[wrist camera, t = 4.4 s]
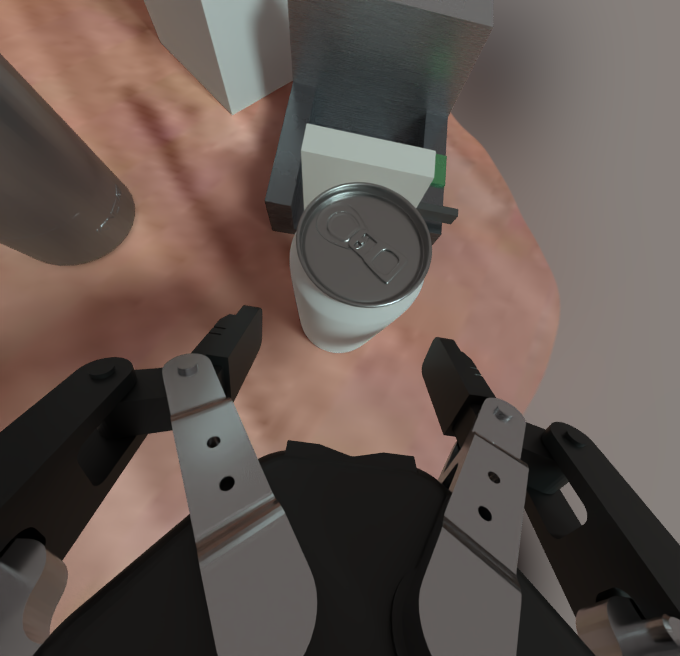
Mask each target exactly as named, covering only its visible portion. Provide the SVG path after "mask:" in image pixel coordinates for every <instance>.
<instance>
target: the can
mask: <svg viewBox="0 0 680 656" xmlns="http://www.w3.org/2000/svg"><path fill="white" fill-rule="evenodd" d="M431 257H432V243H431V237H430V233H429V230H428V227H427V225H426V223H425V221H424V219H423V217H422V216H421V214H420V213H419V212H418V210H417V209H416V208H415V207H414V206H413V205H412V204H411V203H410V202H409V201H408V200H407V199H406V198H404V197H403V196H402V195H400V194H398V193H397V192H395V191H393V190H391V189H389V188H386V187H384V186H381V185H377V184H373V183H366V182H351V183H345V184H340V185H337V186H334V187H332V188H329V189H327V190H325V191H324V192H322V193H321V194H319V195H318V196H317V197H315V198H314V199H313V200H312V201H311V202H310V203H309V205H308V206H307V207H306V209H305V210H304V212H303V214H302V216H301V218H300V220H299V223H298V227H297V231H296V233H295V235H294V237H293V240H292V244H291V248H290V272H291V278H292V284H293V289H294V294H295V299H296V304H297V308H298V313H299V318H300V322H301V325H302V328H303V331H304V332H305V334H306V336H307V337H308V338H309V340H310V341H311V342H312V343H313V344H315V345H316V346H317V347H319V348H321V349H323V350H325V351H328V352H333V353H345V352H349V351H352V350H355V349H357V348H359V347H360V346H362V345H363V344H365V343H366V342H367V341H369V340H370V339H371V338H373V337H374V336H375V335H376V334H378V333H379V332H380V331H382V330H383V329H384V328H385V327H387V326H388V325H389V324H390V323H392V322H393V321H394V320H395V319H397V318H398V317H399V316H400V315H401V314H402V313H404V312H405V311H406V310H407V309H408V308H409V307H410V305H411V304H412V303H413V302H414V300H415V299H416V297H417V296H418V294H419V292H420V290H421V287H422V285H423V281H424V278H425V276H426V274H427V272H428V269H429V266H430V263H431Z"/></svg>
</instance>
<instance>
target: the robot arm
mask: <svg viewBox="0 0 680 656" xmlns="http://www.w3.org/2000/svg"><path fill="white" fill-rule="evenodd" d="M134 217H135V204H134V201H133V198H132V195H131V193H130V192H129V190H128V188H127V187H126V186H125V185H124V184H123V183H122V182H121V181H120V180H119V179H118V178H117V176H116V175H115V174H114V173H113V172H112V171H111V170H110V169H109V168H108V167H107V166H106V165H105V164H104V163H103V162H102V161H101V160H100V158H99V157H98V156H97V155H96V154H95V153H94V152H93V151H92V150H91V149H90V148H89V147H88V146H87V144H86V143H85V142H84V141H83V140H82V139H81V138H80V137H79V136H78V135H77V134H76V133H75V132H74V131H73V130H72V129H71V127H70V126H69V125H68V124H67V123H66V122H65V121H64V120H63V119H62V118H61V117H60V116H59V115H58V114H57V113H56V112H55V111H54V110H53V108H52V107H51V106H50V105H49V104H48V103H47V102H46V101H45V100H44V99H43V98H42V97H41V96H40V95H39V94H38V93H37V92H36V91H35V90H34V88H33V87H32V86H31V85H30V84H29V83H28V82H27V81H26V80H25V79H24V78H23V77H22V76H21V75H20V74H19V73H18V72H17V71H16V69H15V68H14V67H13V66H12V65H11V64H10V63H9V62H8V61H7V60H6V59H5V58H4V57H3V56H2V55H1V54H0V243H1V244H3V245H6V246H8V247H10V248H12V249H14V250H17V251H19V252H21V253H23V254H26V255H28V256H30V257H32V258H35V259H37V260H40V261H42V262H45V263H48V264H54V265H78V264H83V263H88V262H90V261H93V260H96V259H99V258H101V257H102V256H104V255H106V254H108V253H109V252H111V251H112V250H113V249H115V248H116V247H117V246H118V245H119V244H121V242H122V241H123V240H124V239H125V237H126V236H127V235H128V233H129V231H130V229H131V227H132V225H133V221H134ZM261 341H262V309H261V308H258V307H252V306H246V305H244V306H243V307H242V308H241V309H240V310H239V312H238V313H237V314H236V315H232V314H229V315H227V316H225V317H223V318H221V319H220V320H219V321H218V322H217V323H216V324H215V326H214V328H212V329H211V330H210V331H209V334H207V335H206V336H205V337H204V339H203V340H202V341H201V342H200V343H199V344H198V346H197V347H196V348H195V349H194V350H193V351H192V353H191V354H184V355H180V356H177V357H175V358H173V359H171V360H170V361H168V362H167V363H166V364H165V365H164V367H163V368H155V369H142V370H134V368H133V365H132V363H131V362H130V361H129V360H127V359H124V358H118V357H111V358H104V359H99V360H96V361H93V362H90V363H88V364H86V365H84V366H82V367H81V368H79V369H78V370H76V371H75V372H74V373H73V374H72V375H70V376H69V377H68V378H67V379H65V380H64V381H63V382H62V383H60V384H59V385H58V386H57V387H55V388H54V389H53V390H52V391H51V392H49V393H48V394H47V395H46V396H44V397H43V398H42V399H41V400H39V401H38V402H37V403H36V404H35V405H33V406H32V407H31V408H30V409H28V410H27V411H26V412H25V413H23V414H22V415H21V416H20V417H18V418H17V419H16V420H15V421H14V422H12V423H11V424H10V425H9V426H7V427H6V428H5V429H4V430H2V431H1V432H0V656H680V545H679V544H678V543H677V541H675V539H674V538H673V537H672V535H671V534H670V533H669V532H668V531H667V530H666V528H665V527H664V526H663V525H662V524H661V522H660V521H659V520H658V519H657V518H656V516H655V515H654V514H653V513H652V512H651V511H650V509H649V508H648V507H647V506H646V505H645V503H644V502H643V501H642V500H641V499H640V497H639V496H638V495H637V494H636V493H635V491H634V490H633V489H632V488H631V487H630V485H629V484H628V483H627V482H626V481H625V480H624V478H623V477H622V476H621V475H620V474H619V472H618V471H617V470H616V469H615V468H614V467H613V465H612V464H611V463H610V462H609V460H608V459H607V458H606V457H605V456H604V454H603V453H602V452H601V451H600V450H599V449H598V448H597V446H596V445H595V444H594V443H593V442H592V440H591V439H589V438H588V437H587V436H586V435H585V434H583V433H582V432H581V431H579V430H578V429H576V428H574V427H572V426H570V425H568V424H565V423H562V422H554V423H552V424H551V425H550V426H549V427H548V428H547V429H546V430H545V429H542V428H540V427H537V426H535V425H532V424H529V423H527V422H525V419H524V417H523V415H522V414H521V413H520V412H519V411H518V410H517V409H516V408H515V407H514V406H512V405H511V404H509V403H507V402H505V401H503V400H501V399H498V398H496V397H495V395H494V394H493V392H492V391H491V389H490V388H489V386H488V385H487V383H486V381H485V380H484V378H483V377H482V376H481V374H480V372H479V371H478V370H477V367H476V366H475V364H474V363H473V361H472V360H471V359H470V358H469V357H468V356H467V355H466V354H464V353H463V352H461V351H460V349H459V348H458V346H457V344H456V343H455V341H454V340H452V339H446V338H440V337H436V338H435V339H434V340H433V342H432V344H431V346H430V348H429V351H428V353H427V355H426V357H425V359H424V362H423V365H422V376H423V379H424V381H425V384H426V387H427V390H428V393H429V395H430V398H431V401H432V404H433V407H434V409H435V412H436V415H437V418H438V421H439V423H440V426H441V429H442V432H443V435H447V436H454V437H456V439H457V441H456V443H455V444H454V446H453V448H452V450H451V452H450V455H449V457H448V459H447V461H446V463H445V465H444V468H443V470H442V472H441V474H440V476H439V478H438V480H437V479H435V478H434V477H432V476H431V475H429V474H428V473H426V472H424V471H422V470H420V469H418V468H416V463H415V459H414V456H406V455H398V454H391V453H377V454H370V455H362V456H354V457H353V456H349V455H346V454H343V453H341V452H338V451H336V450H333V449H331V448H328V447H325V446H323V445H320V444H313V443H306V442H298V441H290V440H288V442H287V447H286V450H285V451H279V452H275V453H271V454H268V455H266V456H263V457H261V458H259V459H257V456H256V454H255V452H254V449H253V447H252V445H251V443H250V440H249V438H248V436H247V433H246V431H245V429H244V426H243V424H242V422H241V420H240V417H239V415H238V413H237V410H236V408H235V406H234V404H233V402H234V400H235V398H236V396H237V394H238V392H239V390H240V388H241V386H242V384H243V382H244V380H245V378H246V376H247V374H248V372H249V370H250V368H251V366H252V364H253V362H254V360H255V358H256V355H257V353H258V351H259V349H260V346H261ZM170 430H173V434H174V439H175V443H176V448H177V453H178V458H179V463H180V468H181V473H182V478H183V483H184V488H185V493H186V497H187V502H188V507H189V512H190V514H189V515H188V516H187V517H186V518H184V519H183V520H182V521H181V522H180V523H178V524H177V525H176V526H175V527H174V528H172V529H171V530H170V531H169V532H168V533H167V534H165V535H164V536H163V537H162V538H161V539H159V540H158V541H157V542H156V543H155V544H154V545H152V546H151V547H150V548H149V549H148V550H146V551H145V552H144V553H143V554H142V555H140V556H139V557H138V558H137V559H136V560H135V561H133V562H132V563H131V564H130V565H129V566H127V567H126V568H125V569H124V570H123V571H122V572H120V573H119V574H118V575H117V576H116V577H114V578H113V579H112V580H111V581H110V582H109V583H107V584H106V585H105V586H104V587H103V588H101V589H100V590H99V591H98V592H97V593H95V594H94V595H93V596H92V597H91V598H90V599H88V600H87V601H86V602H85V603H84V604H82V605H81V606H80V607H79V608H78V609H76V610H75V611H74V612H73V613H72V614H71V615H70V616H68V617H67V618H66V619H65V620H64V621H63V622H62V623H61V624H60V625H59V626H58V627H57V628H56V629H55V630H54V631H53V632H52V633H51V635H50V624H51V620H52V616H53V614H54V611H55V608H56V606H57V604H58V602H59V600H60V598H61V596H62V594H63V592H64V590H65V587H66V584H67V579H68V570H67V567H66V565H65V563H64V562H63V561H62V560H63V559H64V557H65V556H66V554H67V553H68V551H69V550H70V548H71V547H72V546H73V544H74V543H75V541H76V540H77V538H78V537H79V535H80V534H81V532H82V531H83V529H84V528H85V526H86V525H87V523H88V522H89V520H90V519H91V517H92V516H93V515H94V513H95V512H96V510H97V509H98V507H99V506H100V504H101V503H102V501H103V500H104V498H105V497H106V495H107V494H108V492H109V491H110V489H111V488H112V486H113V485H114V483H115V482H116V481H117V479H118V478H119V476H120V475H121V473H122V472H123V470H124V469H125V467H126V466H127V464H128V463H129V461H130V460H131V458H132V457H133V455H134V454H135V452H136V451H137V450H138V448H139V447H140V445H141V444H142V442H143V441H144V439H145V438H146V436H147V435H148V434H150V433H157V432H163V431H170ZM568 482H570V484H571V486H572V487H573V489H574V490H575V492H576V493H577V495H578V496H579V498H580V500H581V501H582V502H583V504H584V506H585V508H586V511H587V521H586V523H585V524H584V525H581V524H580V522H579V520H578V519H577V517H576V515H575V514H574V512H573V510H572V509H571V507H570V506H569V504H568V502H567V501H566V499H565V497H564V496H563V494H562V492H561V491H560V489H561V487H563V486H564V485H566V484H567V483H568ZM524 509H525V511H526V513H527V515H528V517H529V519H530V521H531V523H532V526H533V528H534V530H535V532H536V534H537V536H538V538H539V540H540V543H541V545H542V547H543V549H544V551H545V553H546V555H547V557H548V560H549V562H550V564H551V566H552V568H553V570H554V572H555V575H556V577H557V579H558V581H559V583H560V585H561V587H562V589H563V591H564V594H565V596H566V598H567V600H568V602H569V604H570V606H571V609H572V611H573V613H574V615H575V617H576V628H577V632H578V635H577V634H576V633H575V632H574V631H573V629H572V628H571V627H570V626H569V625H568V624H567V623H566V622H565V621H564V619H563V618H562V617H561V616H560V615H559V614H558V613H557V612H556V610H555V609H554V608H553V607H552V606H551V605H550V604H549V603H548V601H547V600H546V599H545V598H544V597H543V596H542V595H541V593H540V592H539V591H538V590H537V589H536V588H535V587H534V586H533V584H532V583H531V582H530V581H529V580H528V579H527V578H526V577H525V576H524V574H523V573H522V572H521V571H520V570H519V569H518V568H517V562H518V554H519V546H520V537H521V529H522V521H523V513H524Z"/></svg>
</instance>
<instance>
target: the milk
mask: <svg viewBox="0 0 680 656" xmlns="http://www.w3.org/2000/svg"><path fill="white" fill-rule="evenodd" d="M144 2H145V5H146V7H147V10H148V12H149V15H150V17H151V20H152V22H153V25H154V27H155V30H156V32H157V35H158V37H159V40H160V42H161V43H162V44H163V45H164V46H165V47H166V48H167V49H168V50H169V51H170V52H171V54H172V55H173V56H174V57H175V58H176V59H177V60H178V61H179V62H180V63H181V64H182V65H183V66H184V67H185V68H186V69H187V70H188V71H189V72H190V73H191V74H192V75H193V76H194V77H195V78H196V79H197V80H198V81H199V82H200V83H201V84H202V85H203V86H204V87H205V88H206V89H207V90H208V91H209V92H210V93H211V94H212V95H213V96H214V97H215V98H216V99H217V100H218V101H219V102H220V103H221V104H222V105H223V106H224V107H225V108H226V109H227V110H228V111H229V112H230V113H231V114H232V115H234V114H236V113H237V112H239V111H241V110H242V109H244V108H246V107H248V106H249V105H251V104H253V103H255V102H256V101H258V100H260V99H262V98H263V97H265V96H267V95H269V94H270V93H272V92H274V91H275V90H277V89H279V88H281V87H282V86H284V85H286V84H288V83H289V82H291V81H293V75H292V60H291V45H290V30H289V16H288V1H287V0H144Z"/></svg>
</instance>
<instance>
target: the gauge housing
mask: <svg viewBox="0 0 680 656" xmlns="http://www.w3.org/2000/svg"><path fill="white" fill-rule="evenodd" d="M287 1H288V16H289V30H290V45H291V60H292V75H293V85H292V89H291V93H290V97H289V102H288V106H287V110H286V114H285V118H284V123H283V127H282V131H281V135H280V139H279V143H278V148H277V152H276V156H275V160H274V164H273V168H272V173H271V177H270V181H269V185H268V189H267V193H266V198H265V204H266V208H267V212H268V215H269V219H270V223H271V227H272V230H274V231H279V232H285V233H290V234H295V233H296V231H297V227H298V223H299V220H300V218H301V216H302V214H303V212H304V199H303V180H302V161H301V148H302V143H303V139H304V134H305V129H306V124H307V123H308V124H312V125H317V126H322V127H326V128H331V129H336V130H340V131H345V132H350V133H354V134H359V135H364V136H368V137H373V138H378V139H382V140H387V141H392V142H396V143H401V144H406V145H411V146H415V147H420V148H425V149H429V150H434V151H436V156H435V172H434V179H433V181H432V182H431V184H430V186H429V187H428V189H427V191H426V193H425V194H424V196H423V198H422V199H421V201H420V202H424V203H429V204H434V205H439V206H443V193H444V186H445V177H446V158H447V156H446V138H447V120H448V116H449V114H450V112H451V110H452V108H453V106H454V104H455V102H456V100H457V98H458V96H459V94H460V92H461V90H462V88H463V86H464V84H465V82H466V80H467V78H468V76H469V74H470V72H471V70H472V68H473V66H474V64H475V62H476V60H477V58H478V56H479V54H480V52H481V50H482V48H483V46H484V45H485V43H486V41H487V39H488V37H489V34H490V33H491V31H492V29H493V0H287ZM424 221H425V223H426V225H427V227H428V230H429V233H430V237H431V243H432V245H433V244H434V242H435V241H436V240H437V239H438V238H439V237H440V235H441V230H442V222H437V221H431V220H426V219H424Z"/></svg>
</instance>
